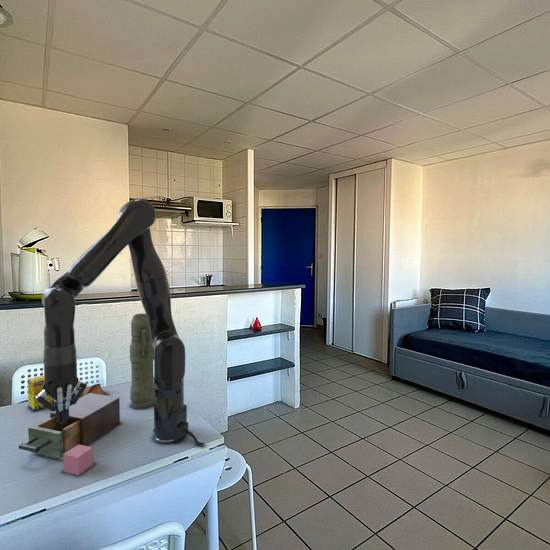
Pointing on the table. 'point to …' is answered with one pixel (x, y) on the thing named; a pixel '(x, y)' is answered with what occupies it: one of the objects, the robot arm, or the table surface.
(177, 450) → the table surface
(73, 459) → the block
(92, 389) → the sunglasses case
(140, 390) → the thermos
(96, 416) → the cabinet
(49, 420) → the drawer
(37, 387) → the supplement box
